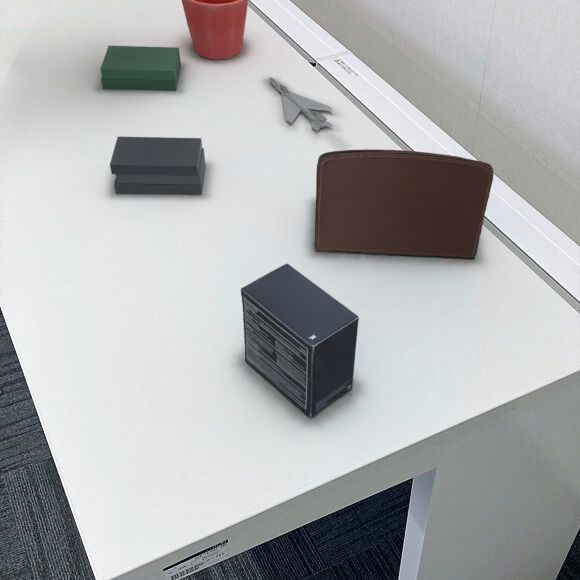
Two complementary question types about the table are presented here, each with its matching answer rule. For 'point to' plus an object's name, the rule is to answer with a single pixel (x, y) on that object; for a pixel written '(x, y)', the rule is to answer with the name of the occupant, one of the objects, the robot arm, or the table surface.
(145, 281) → the table surface
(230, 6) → the flower pot
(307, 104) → the toy airplane
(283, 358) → the small box
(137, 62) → the green book stack
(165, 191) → the grey book stack
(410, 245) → the letter holder
